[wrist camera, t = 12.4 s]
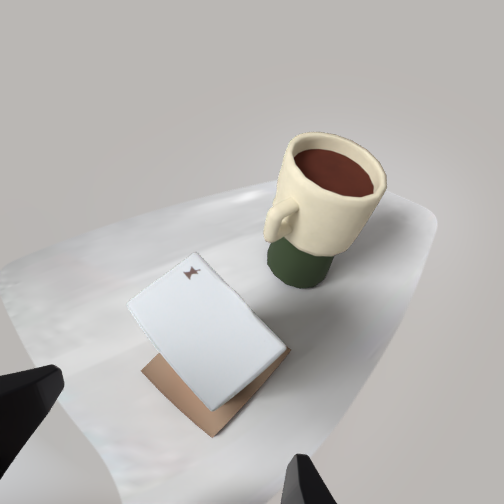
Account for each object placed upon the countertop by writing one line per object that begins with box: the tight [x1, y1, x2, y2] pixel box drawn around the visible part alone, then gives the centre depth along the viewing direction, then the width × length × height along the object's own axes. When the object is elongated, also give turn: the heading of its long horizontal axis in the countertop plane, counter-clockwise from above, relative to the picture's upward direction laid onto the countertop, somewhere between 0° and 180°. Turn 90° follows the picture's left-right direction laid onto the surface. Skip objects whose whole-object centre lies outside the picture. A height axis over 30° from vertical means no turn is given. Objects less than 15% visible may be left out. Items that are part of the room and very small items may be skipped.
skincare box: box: [126, 252, 286, 411], centre depth 16 cm, size 6×4×12 cm
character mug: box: [263, 132, 387, 289], centre depth 22 cm, size 11×7×13 cm, turn 126°
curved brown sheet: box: [141, 346, 291, 438], centre depth 21 cm, size 10×8×1 cm
